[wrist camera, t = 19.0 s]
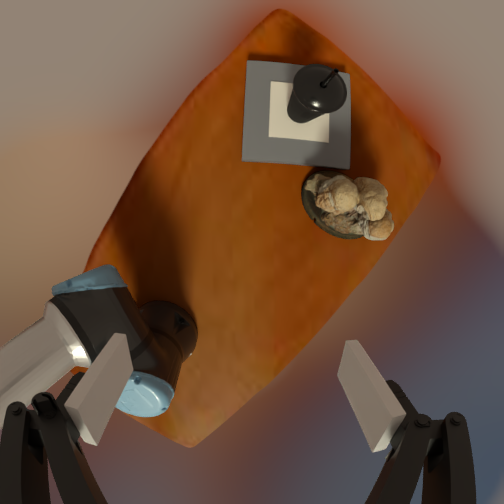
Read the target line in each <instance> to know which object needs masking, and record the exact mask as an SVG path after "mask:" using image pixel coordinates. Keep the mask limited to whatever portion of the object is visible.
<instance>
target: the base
mask: <svg viewBox="0 0 504 504" xmlns="http://www.w3.org/2000/svg"><path fill="white" fill-rule="evenodd" d="M302 67H304V65H296V64H288V63H278V62H266V61H250V60H247V71H246V88H245V107H244V126H243V147H242V161H244V162H265V163H281V164H294V165H305V166H316V167H325V168H334V169H342V170H347V169H350V148H351V97H350V74H348V73H343V72H339V73H338V74H339V75H340V76H341V77H342V79H343V80H344V82H345V84H346V88H347V98H346V101H345V103H344V105H343V106H342V107H341V108H340V109H338V110H337V111H335V112H332V113H328V114H324V115H322V116H319V117H317V118H315V119H313V120H311V121H309V122H306V123H296V122H294V121H293V120H291V119H290V117H289V116H288V113H287V107H288V103H289V100H290V96H291V93H292V89H293V79H294V76H295V74H296V73H297V72H298V71H299V70H300V69H301V68H302Z"/></svg>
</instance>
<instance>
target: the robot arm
mask: <svg viewBox="0 0 504 504" xmlns="http://www.w3.org/2000/svg"><path fill="white" fill-rule="evenodd" d="M127 287H128V286H127V284H125V283H124V281H123V280H122V278H121V276H120V274H119V273H118V271H117V269H116V268H115V267H114V266H112V265H103V266H100V267H98V268H95V269H93V270H90V271H88V272H85V273H83V274H81V275H78V276H76V277H74V278H71V279H69V280H66V281H64V282H62V283H59V284H57V285H55V286H53V287H52V294H53V296H54V297H53V298H52V299H50V300H49V301H47V302H46V304H45V309H44V314H43V317H42V318H40V319H39V320H38V321H36V322H35V323H34V324H32V325H31V326H29V327H28V328H26V329H25V330H24V331H22V332H21V333H20V334H18V335H17V336H15V337H14V338H13V339H11V340H10V341H9V342H7V343H6V344H5V345H3V346H2V347H1V348H0V430H1V429H2V428H3V429H2V435H1V442H0V504H51V501H50V493H49V481H48V462H47V461H48V460H49V463H50V467H51V470H52V473H53V476H54V479H55V482H56V485H57V487H58V490H59V493H60V496H61V498H62V500H63V503H64V504H108V503H107V501H106V499H105V497H104V496H103V494H102V492H101V490H100V488H99V486H98V484H97V482H96V480H95V478H94V476H93V474H92V471H91V469H90V467H89V465H88V463H87V460H86V458H85V456H84V453H83V451H82V448H81V446H80V443H79V442H78V438H79V436H80V435H81V437H82V439H83V440H84V442H87V443H90V444H93V445H96V446H97V445H98V443H99V441H100V438H101V436H102V434H103V432H104V430H105V427H106V425H107V423H108V421H109V419H110V417H111V414H112V412H113V410H114V408H115V407H116V408H118V409H120V410H121V411H124V412H126V413H129V414H132V415H135V416H140V417H153V416H157V415H160V414H162V413H163V412H165V411H166V410H167V409H168V407H169V405H170V402H171V399H172V398H173V396H174V392H175V388H176V384H177V380H178V376H179V372H180V369H181V365H182V363H183V362H184V361H185V360H186V359H187V358H188V357H189V356H190V355H191V354H192V352H193V351H194V349H195V346H196V342H197V337H198V334H197V328H196V325H195V323H194V321H193V319H192V318H191V316H190V315H189V314H188V313H187V312H186V311H185V310H183V309H182V308H181V307H179V306H177V305H175V304H173V303H170V302H166V301H152V302H149V303H146V304H144V305H143V306H141V307H140V308H138V307H137V305H136V303H135V301H134V299H133V298H132V296H131V294H130V292H129V290H128V288H127ZM75 366H82V367H88V368H89V369H88V370H87V372H86V373H83V372H79V373H77V374H76V375H74V376H73V377H72V378H71V380H70V381H69V383H68V384H67V385H66V387H65V389H63V391H62V392H61V393H60V395H59V396H58V398H57V399H56V401H55V399H54V397H53V395H52V394H50V393H48V392H45V391H46V390H47V389H48V388H49V387H51V386H52V385H53V384H54V383H55V382H56V381H58V380H59V379H60V378H61V377H63V376H64V375H65V374H66V373H67V372H68V371H70V370H71V369H72V368H73V367H75ZM337 376H338V378H339V380H340V383H341V385H342V387H343V389H344V391H345V393H346V396H347V398H348V400H349V402H350V404H351V406H352V409H353V411H354V413H355V415H356V417H357V420H358V422H359V424H360V426H361V428H362V431H363V433H364V435H365V437H366V439H367V442H368V444H369V446H370V449H371V451H372V452H376V451H379V450H383V449H386V447H387V446H388V444H389V443H391V445H392V449H391V451H390V452H389V453H388V455H387V456H386V458H385V459H386V462H385V464H384V466H383V468H382V471H381V473H380V475H379V477H378V479H377V481H376V483H375V485H374V487H373V489H372V491H371V493H370V495H369V496H368V498H367V500H366V502H365V504H410V501H411V498H412V496H413V493H414V490H415V488H416V485H417V482H418V479H419V476H420V473H421V470H422V467H424V468H423V490H422V503H421V504H476V486H475V474H474V465H473V457H472V450H471V444H470V439H469V432H468V427H467V422H466V419H465V417H464V416H463V415H462V414H460V413H458V412H451V413H449V414H447V416H446V417H445V419H444V420H431V418H430V417H428V416H427V415H424V414H418V412H417V411H416V409H415V408H414V406H413V405H412V403H411V402H410V400H409V399H408V398H407V397H406V395H405V393H404V392H403V390H402V389H401V388H400V386H399V385H398V384H397V383H395V382H394V381H393V380H388V381H385V380H384V379H383V377H382V376H381V374H380V373H379V371H378V370H377V368H376V367H375V365H374V364H373V362H372V361H371V359H370V358H369V356H368V355H367V353H366V352H365V350H364V349H363V348H362V346H361V345H360V343H359V342H358V340H350V341H346V343H345V347H344V351H343V355H342V359H341V363H340V367H339V370H338V374H337ZM30 404H32V406H33V408H34V410H28V409H27V408H26V407H27V406H28V405H30ZM47 457H48V460H47ZM423 463H424V465H423Z"/></svg>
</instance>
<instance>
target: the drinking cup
mask: <svg viewBox="0 0 504 504" xmlns="http://www.w3.org/2000/svg"><path fill="white" fill-rule="evenodd" d="M338 73H339V70H338V69H336V68H335V69H332V68H330V67H328V66H325V65H321V64H310V65H307V66H304V67H302V68H301V69H300V70H299V71H298V72H297V73H296V74H295V76H294V79H293V89H292V93H291V96H290V100H289V103H288V107H287V113H288V116H289V117H290V119H291V120H293V121H294V122H296V123H306V122H309V121H311V120H313V119H315V118H317V117H319V116H322V115H324V114H328V113H332V112H335V111H337V110H338V109H340V108H341V107H342V106H343V105H344V103H345V101H346V98H347V88H346V84H345V82H344V80H343V79H342V77H341V76H340V75H339V74H338Z"/></svg>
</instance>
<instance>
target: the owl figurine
mask: <svg viewBox="0 0 504 504" xmlns="http://www.w3.org/2000/svg"><path fill="white" fill-rule="evenodd" d="M301 195H302V202H303V206H304V208H305V210H306V212H307V214H308V215H309V217H310V218H311V219H312V220H313V219H314V217H315V218H316V222H315V221H314V223H315V224H316V225H318V226H319V227H320V228H321V229H323V230H324V231H326V232H327V233H329V234H331V235H333V236H336V237H339V238H343V239H357V238H360V237H362V236H364V237H365V238H367V239H370V240H384V239H387V237H388V236H389V235H390V233H391V232H392V231H393V229H394V222H393V220H392V219H391V218H392V215H391V213H390V212H389V211H388V210H387V209H386V207H387V200H386V197H387V196H388V192H387V190H386V188H385V187H384V186H383V185H382V184H380V182H379V181H377V180H375V179H371V178H366V177H358V178H356V179H355V180H353V179H351V178H349V177H348V176H346V175H344V174H341V173H338V172H334V171H318V172H316V173H314V174H312V175H310V176H309V177H308V179H307V180H306V181H305V183H304V185H303V188H302V192H301Z"/></svg>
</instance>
